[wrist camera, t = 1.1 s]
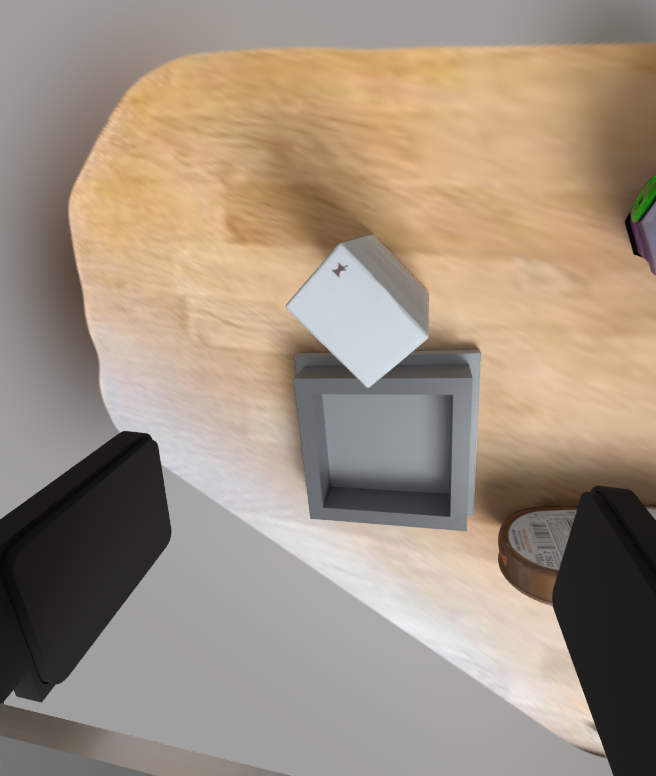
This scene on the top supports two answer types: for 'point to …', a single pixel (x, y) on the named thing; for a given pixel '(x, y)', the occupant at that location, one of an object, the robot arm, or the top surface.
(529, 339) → the top surface
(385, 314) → the skincare box
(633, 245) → the potion bottle
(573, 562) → the robot arm
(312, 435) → the grey square tray
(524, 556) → the tin
